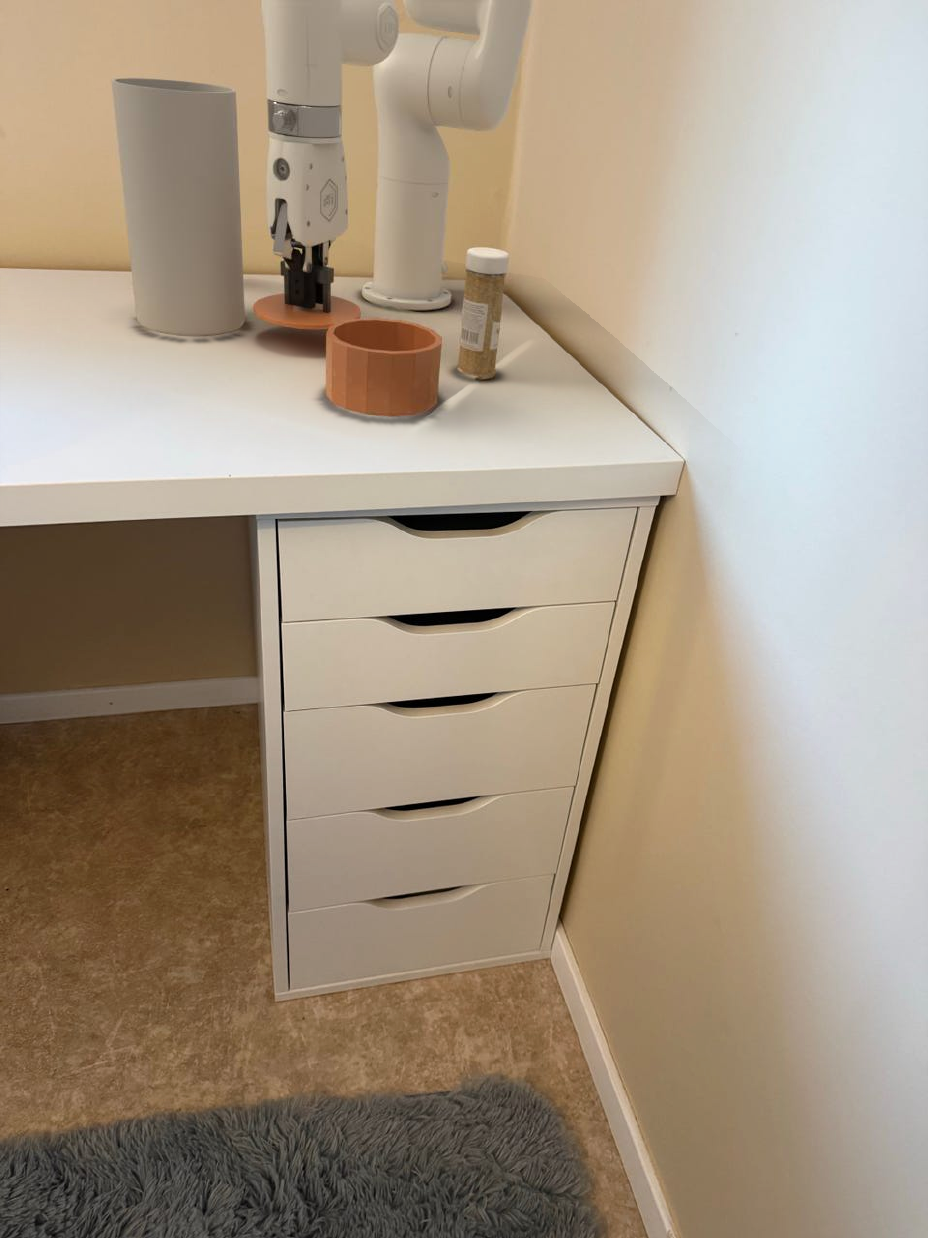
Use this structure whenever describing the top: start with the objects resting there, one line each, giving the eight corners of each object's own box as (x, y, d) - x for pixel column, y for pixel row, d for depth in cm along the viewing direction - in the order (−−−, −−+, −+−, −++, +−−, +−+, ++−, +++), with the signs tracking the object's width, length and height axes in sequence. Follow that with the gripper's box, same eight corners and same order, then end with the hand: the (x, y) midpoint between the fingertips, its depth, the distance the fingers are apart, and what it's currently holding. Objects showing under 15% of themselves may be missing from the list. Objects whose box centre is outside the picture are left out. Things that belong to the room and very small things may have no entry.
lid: (289, 295, 110) (288, 245, 107) (378, 314, 107) (380, 263, 104) (232, 320, 101) (228, 265, 98) (328, 341, 98) (328, 286, 94)
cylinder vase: (114, 327, 105) (85, 78, 91) (176, 304, 115) (158, 76, 101) (209, 347, 102) (193, 93, 88) (264, 321, 112) (257, 90, 98)
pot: (358, 374, 100) (360, 311, 96) (453, 396, 96) (459, 332, 93) (305, 404, 90) (305, 336, 87) (408, 430, 87) (412, 361, 84)
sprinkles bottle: (503, 378, 103) (518, 254, 95) (470, 382, 101) (483, 256, 93) (480, 365, 106) (493, 244, 98) (448, 369, 104) (458, 246, 96)
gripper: (297, 133, 86) (300, 327, 96) (372, 121, 98) (368, 294, 108) (229, 123, 88) (240, 314, 98) (311, 112, 100) (313, 283, 110)
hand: (307, 302), depth 103 cm, fingers closed on lid, 1 cm apart
